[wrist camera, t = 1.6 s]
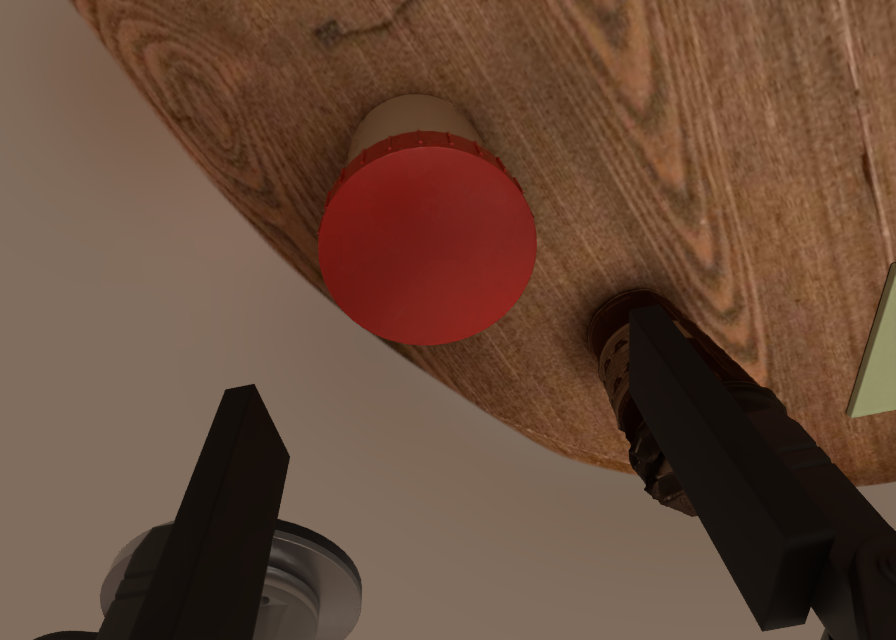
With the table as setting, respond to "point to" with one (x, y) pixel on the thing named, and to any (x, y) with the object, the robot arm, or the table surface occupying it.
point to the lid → (426, 239)
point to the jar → (410, 121)
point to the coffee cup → (613, 370)
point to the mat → (878, 360)
